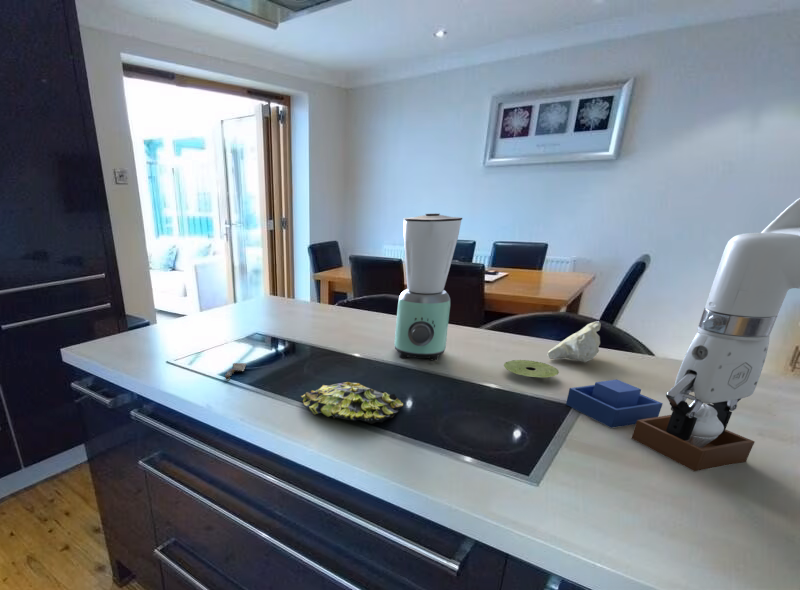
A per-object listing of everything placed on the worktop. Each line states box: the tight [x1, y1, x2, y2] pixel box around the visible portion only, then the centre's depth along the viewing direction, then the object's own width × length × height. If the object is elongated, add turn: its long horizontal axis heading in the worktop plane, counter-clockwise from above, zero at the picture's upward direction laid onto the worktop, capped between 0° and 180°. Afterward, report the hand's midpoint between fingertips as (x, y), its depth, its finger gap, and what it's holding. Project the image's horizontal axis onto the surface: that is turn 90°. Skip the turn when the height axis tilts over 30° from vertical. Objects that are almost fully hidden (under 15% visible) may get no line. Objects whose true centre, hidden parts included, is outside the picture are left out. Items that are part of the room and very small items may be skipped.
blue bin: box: [565, 384, 663, 429], centre depth 83 cm, size 10×10×4 cm
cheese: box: [546, 320, 601, 363], centre depth 110 cm, size 15×7×15 cm
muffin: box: [686, 403, 724, 448], centre depth 70 cm, size 6×6×7 cm
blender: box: [393, 212, 463, 362], centre depth 112 cm, size 19×13×35 cm
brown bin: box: [630, 414, 756, 472], centre depth 71 cm, size 10×10×4 cm
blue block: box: [592, 379, 642, 409], centre depth 83 cm, size 5×5×5 cm
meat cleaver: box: [224, 362, 247, 380], centre depth 108 cm, size 12×1×5 cm
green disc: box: [503, 359, 560, 378], centre depth 101 cm, size 11×11×2 cm
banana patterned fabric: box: [300, 381, 404, 424], centre depth 88 cm, size 20×16×6 cm
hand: (694, 432), depth 70 cm, fingers closed on muffin, 6 cm apart
